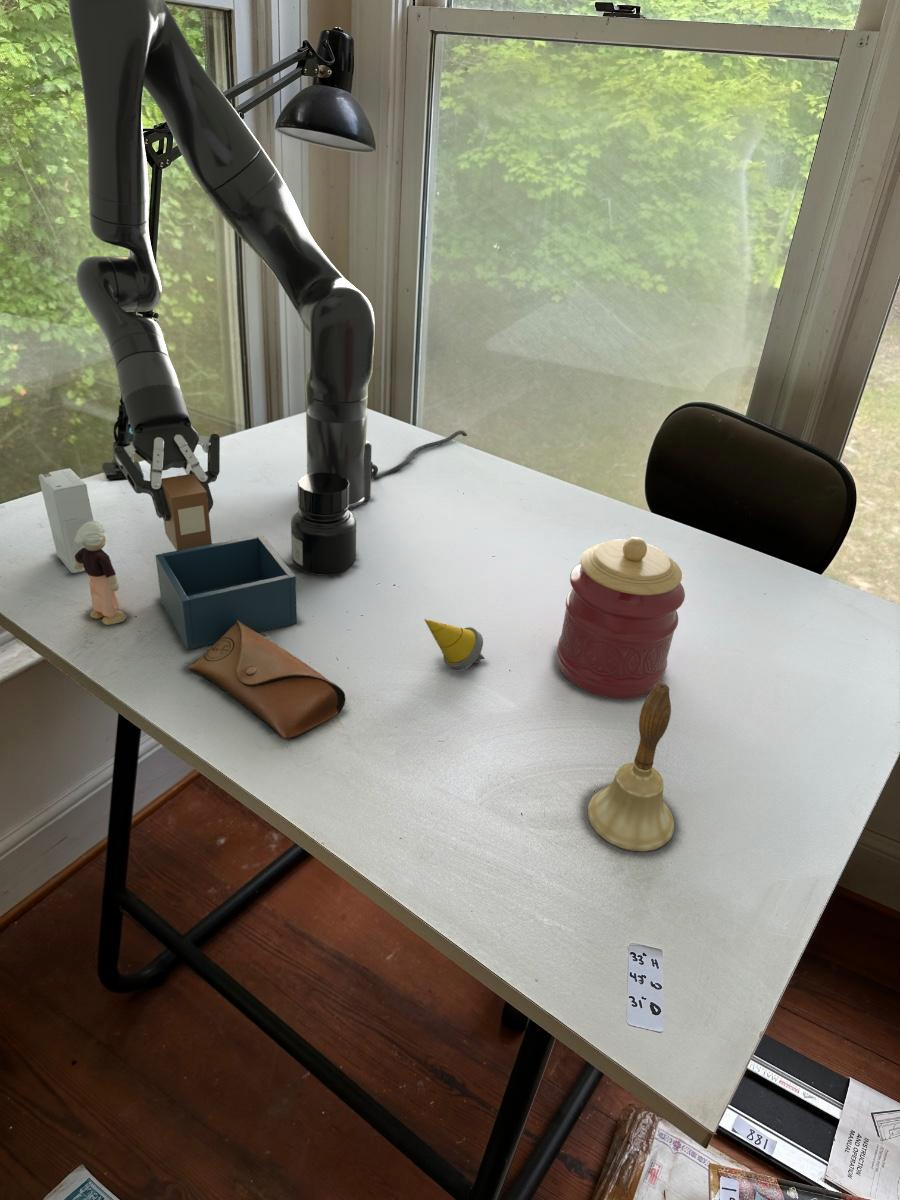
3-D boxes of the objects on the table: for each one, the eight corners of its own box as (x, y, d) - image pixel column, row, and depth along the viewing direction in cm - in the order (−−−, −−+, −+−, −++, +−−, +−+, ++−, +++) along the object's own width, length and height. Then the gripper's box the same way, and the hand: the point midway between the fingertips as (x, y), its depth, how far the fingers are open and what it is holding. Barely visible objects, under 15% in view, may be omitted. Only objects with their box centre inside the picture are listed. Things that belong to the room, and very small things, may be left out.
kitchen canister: (536, 646, 105) (556, 519, 96) (624, 629, 110) (651, 506, 100) (591, 711, 95) (619, 576, 86) (685, 689, 100) (722, 559, 90)
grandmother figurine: (141, 616, 104) (127, 524, 97) (118, 631, 101) (103, 537, 94) (93, 598, 107) (76, 507, 100) (69, 612, 104) (51, 520, 97)
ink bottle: (306, 540, 123) (304, 464, 117) (364, 550, 122) (366, 473, 116) (281, 572, 115) (278, 492, 109) (343, 583, 114) (344, 503, 108)
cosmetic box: (104, 566, 113) (90, 483, 107) (69, 575, 111) (53, 491, 104) (87, 547, 117) (72, 466, 111) (53, 555, 115) (37, 473, 108)
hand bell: (576, 832, 80) (605, 700, 71) (599, 777, 86) (629, 649, 78) (664, 864, 77) (705, 731, 69) (681, 805, 84) (720, 676, 75)
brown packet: (198, 527, 116) (192, 473, 112) (212, 547, 112) (207, 492, 108) (165, 533, 114) (158, 478, 110) (178, 553, 110) (171, 498, 106)
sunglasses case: (180, 666, 95) (202, 612, 95) (226, 669, 101) (247, 618, 101) (287, 743, 86) (312, 683, 86) (331, 740, 92) (354, 685, 92)
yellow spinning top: (485, 685, 98) (427, 642, 93) (457, 679, 103) (400, 637, 97) (505, 645, 100) (449, 600, 95) (476, 641, 104) (422, 598, 99)
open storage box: (264, 579, 114) (261, 534, 110) (297, 623, 105) (296, 576, 102) (161, 601, 107) (155, 554, 104) (187, 650, 99) (182, 601, 95)
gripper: (97, 388, 106) (133, 516, 104) (210, 376, 112) (246, 496, 110) (94, 415, 112) (128, 535, 110) (201, 402, 119) (236, 515, 117)
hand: (187, 515), depth 110 cm, fingers closed on brown packet, 4 cm apart
